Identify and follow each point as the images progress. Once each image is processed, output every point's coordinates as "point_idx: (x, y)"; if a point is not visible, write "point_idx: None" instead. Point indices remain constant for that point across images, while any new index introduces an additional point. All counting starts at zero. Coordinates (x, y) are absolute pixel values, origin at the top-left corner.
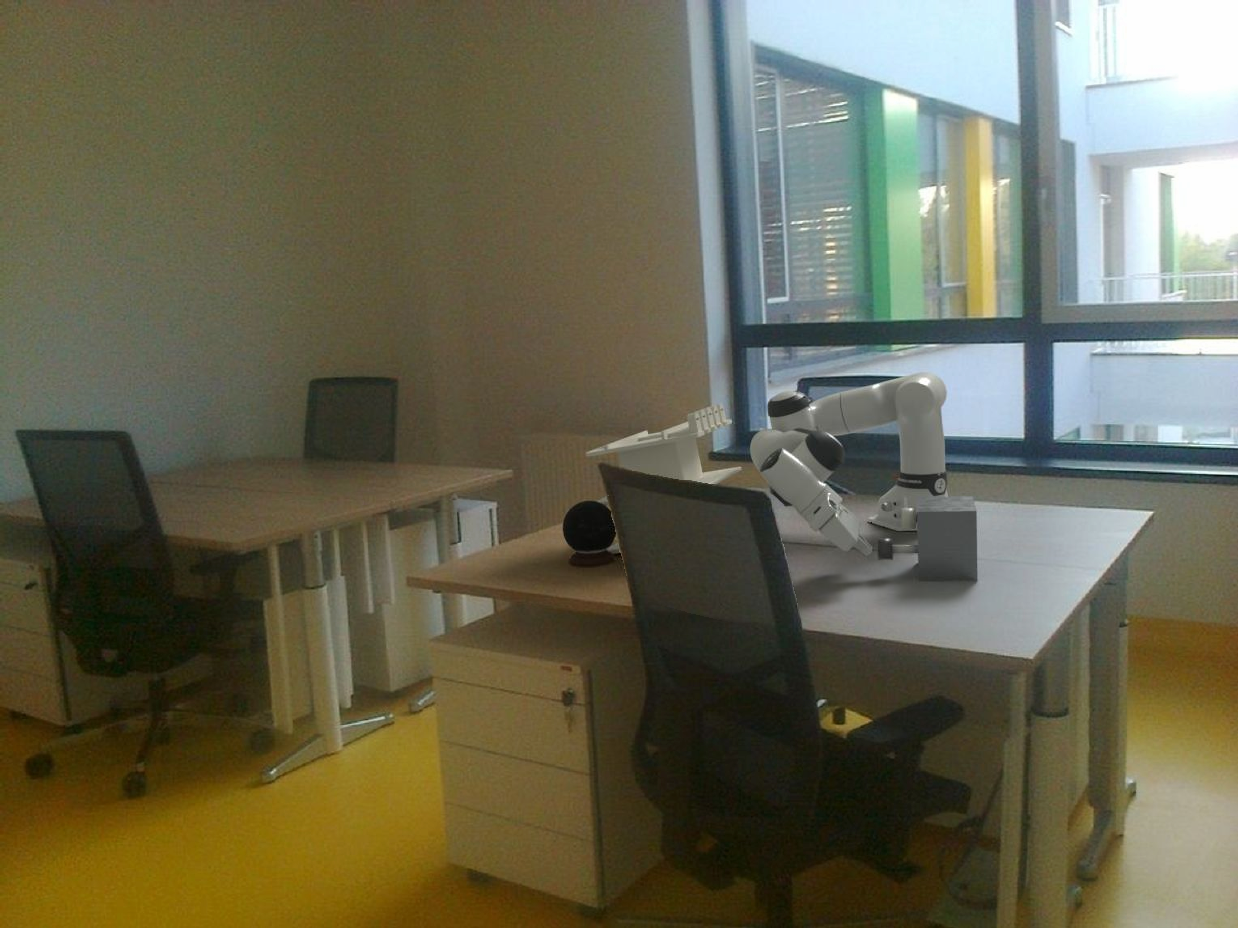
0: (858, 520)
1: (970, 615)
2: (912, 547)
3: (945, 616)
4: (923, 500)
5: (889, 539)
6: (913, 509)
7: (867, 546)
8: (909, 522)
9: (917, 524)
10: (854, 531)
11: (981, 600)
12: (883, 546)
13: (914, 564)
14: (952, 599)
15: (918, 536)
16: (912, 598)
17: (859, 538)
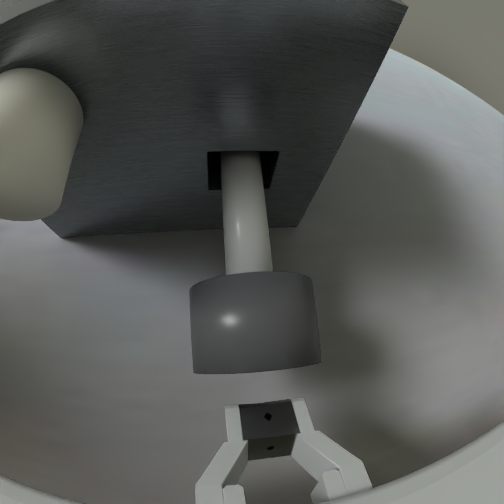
0: (5, 501)
1: (482, 153)
2: (262, 185)
3: (501, 188)
4: (9, 10)
5: (275, 289)
6: (14, 77)
7: (312, 424)
8: (70, 142)
9: (376, 69)
10: (448, 493)
11: (412, 120)
12: (317, 329)
13: (79, 247)
14: (428, 162)
15: (352, 116)
16: (452, 239)
17: (356, 476)
